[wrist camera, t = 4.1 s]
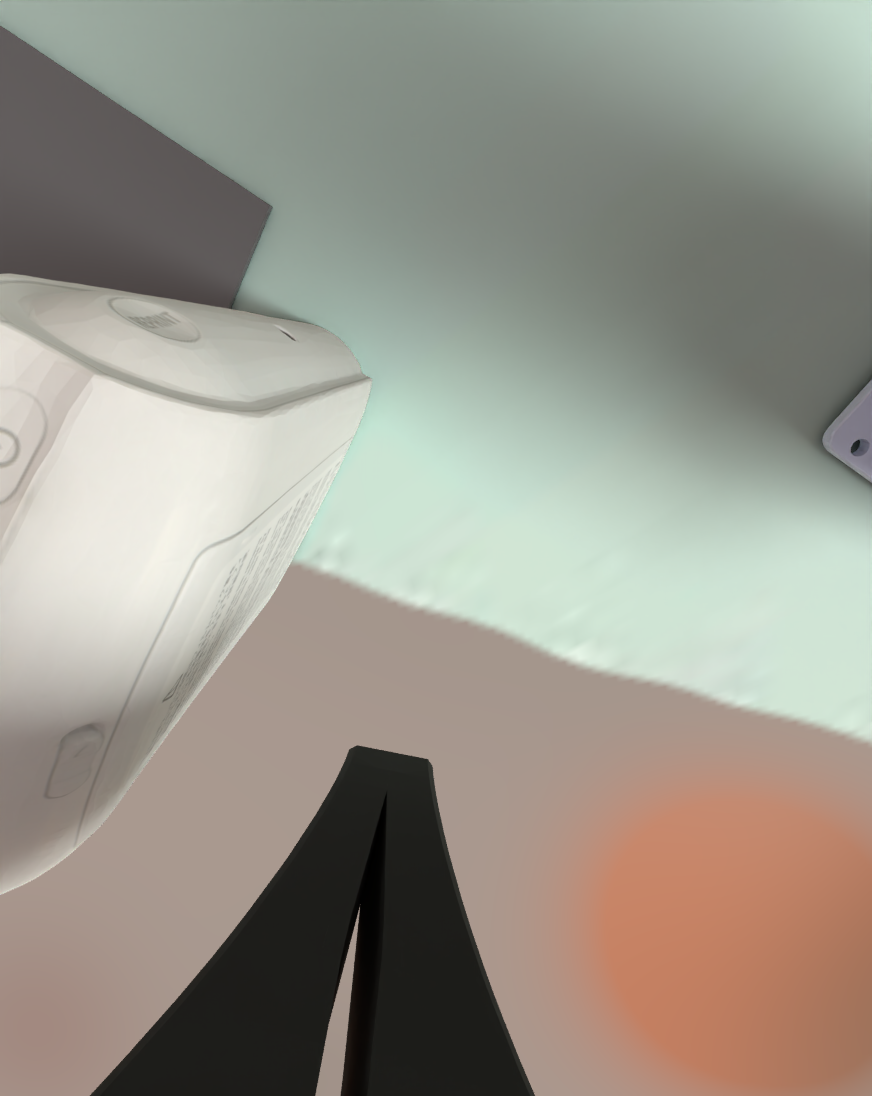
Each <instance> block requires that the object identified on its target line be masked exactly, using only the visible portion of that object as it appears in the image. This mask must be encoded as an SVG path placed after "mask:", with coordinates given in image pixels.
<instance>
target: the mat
mask: <svg viewBox="0 0 872 1096" xmlns="http://www.w3.org/2000/svg"><path fill="white" fill-rule="evenodd" d="M271 209H272V206H270V205H269V204H267V203H266V202H264V201H263V200H261V199H260V198H258V197H257V196H255V195H254V194H252V193H251V192H249V191H248V190H246V189H245V188H243V187H242V186H240V185H239V184H237V183H236V182H234V181H233V180H231V179H230V178H228V177H227V176H225V175H224V174H222V173H221V172H219V171H218V170H216V169H215V168H213V167H212V166H210V165H209V164H207V163H206V162H204V161H203V160H201V159H200V158H198V157H197V156H195V155H194V154H192V153H191V152H189V151H188V150H186V149H185V148H183V147H182V146H180V145H179V144H177V143H176V142H174V141H173V140H171V139H170V138H168V137H167V136H165V135H164V134H162V133H161V132H159V131H158V130H156V129H155V128H153V127H152V126H150V125H149V124H147V123H146V122H144V121H143V120H141V119H140V118H138V117H137V116H135V115H134V114H132V113H131V112H129V111H128V110H126V109H125V108H123V107H122V106H120V105H119V104H117V103H116V102H114V101H113V100H111V99H110V98H108V97H107V96H105V95H104V94H102V93H101V92H99V91H98V90H96V89H95V88H93V87H92V86H90V85H89V84H87V83H86V82H84V81H83V80H81V79H80V78H78V77H77V76H75V75H74V74H72V73H71V72H69V71H68V70H66V69H65V68H63V67H62V66H60V65H59V64H57V63H56V62H54V61H53V60H51V59H50V58H48V57H47V56H45V55H44V54H42V53H41V52H39V51H38V50H36V49H35V48H33V47H32V46H30V45H29V44H27V43H26V42H24V41H23V40H21V39H20V38H18V37H17V36H15V35H14V34H12V33H11V32H9V31H8V30H6V29H5V28H3V27H2V26H0V274H7V273H10V274H18V275H26V276H32V277H37V278H43V279H48V280H55V281H62V282H69V283H77V284H83V285H88V286H94V287H101V288H108V289H114V290H120V291H125V292H131V293H136V294H142V295H149V296H155V297H162V298H169V299H175V300H180V301H185V302H192V303H197V304H204V305H210V306H215V307H222V308H228V309H231V307H232V304H233V302H234V299H235V297H236V294H237V292H238V290H239V287H240V285H241V282H242V280H243V277H244V275H245V272H246V270H247V268H248V265H249V263H250V260H251V258H252V255H253V253H254V251H255V248H256V246H257V243H258V241H259V238H260V236H261V233H262V231H263V229H264V226H265V224H266V221H267V219H268V216H269V214H270V212H271Z"/></svg>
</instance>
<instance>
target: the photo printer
mask: <svg viewBox="0 0 872 1096" xmlns="http://www.w3.org/2000/svg"><path fill="white" fill-rule="evenodd" d="M371 386H372V379H371V378H370V377H368V376H366V375H364V374H363V373H362V370H361V367H360V365H359V363H358V361H357V359H356V357H355V356H354V354H353V353H352V351H351V350H350V349H349V348H348V347H347V345H346V344H345V343H344V342H343V341H341V340H340V339H339V338H338V337H337V336H335V335H334V334H332V333H331V332H329V331H328V330H326V329H324V328H321V327H319V326H316V325H313V324H308V323H303V322H297V321H292V320H285V319H279V318H274V317H268V316H264V315H260V314H255V313H251V312H246V311H239V310H234V309H228V308H222V307H215V306H210V305H204V304H197V303H192V302H185V301H180V300H175V299H169V298H162V297H155V296H149V295H142V294H136V293H131V292H125V291H120V290H114V289H108V288H101V287H94V286H88V285H83V284H77V283H69V282H62V281H55V280H48V279H43V278H37V277H32V276H26V275H18V274H10V273H7V274H0V895H1V894H3V893H6V892H8V891H10V890H13V889H15V888H17V887H20V886H22V885H24V884H26V883H28V882H30V881H32V880H34V879H35V878H37V877H38V876H40V875H42V874H43V873H45V872H46V871H48V870H49V869H51V868H53V867H54V866H55V865H57V864H58V863H59V862H61V861H62V860H63V859H65V858H66V857H67V856H69V855H70V854H71V853H72V852H73V851H74V850H75V849H77V848H78V847H79V846H80V845H81V844H82V843H83V842H84V841H85V840H86V839H88V838H89V837H90V836H91V835H92V834H93V833H94V832H95V831H96V830H97V829H98V828H99V827H100V826H101V825H102V824H103V823H104V822H105V820H106V819H107V818H108V816H109V815H110V814H111V812H112V811H113V810H114V808H115V807H116V806H117V804H118V803H119V802H120V800H121V799H122V798H123V796H124V795H125V793H126V792H127V791H128V789H129V788H130V787H131V785H132V784H133V782H134V781H135V780H136V778H137V777H138V776H139V774H140V773H141V771H142V770H143V769H144V767H145V766H146V764H147V763H148V762H149V760H150V759H151V758H152V756H153V755H154V753H155V752H156V751H157V749H158V748H159V746H160V745H161V744H162V742H163V741H164V740H165V738H166V737H167V735H168V734H169V733H170V731H171V730H172V729H173V727H174V726H175V725H176V723H177V722H178V721H179V719H180V718H181V717H182V715H183V714H184V712H185V711H186V710H187V709H188V707H189V706H190V705H191V703H192V702H193V700H194V699H195V698H196V696H197V695H198V694H199V692H200V691H201V690H202V688H203V687H204V686H205V684H206V683H207V682H208V680H209V679H210V678H211V676H212V675H213V674H214V672H215V671H216V669H217V668H218V667H219V666H220V664H221V663H222V662H223V660H224V659H225V657H226V656H227V655H228V653H229V652H230V651H231V650H232V648H233V647H234V646H235V644H236V643H237V642H238V640H239V639H240V638H241V637H242V635H243V634H244V633H245V631H246V630H247V629H248V627H249V626H250V625H251V623H252V622H253V621H254V619H255V618H256V617H257V615H258V614H259V612H260V611H261V610H262V609H263V607H264V606H265V605H266V603H267V602H268V601H269V599H270V598H271V596H272V594H273V593H274V592H275V589H276V588H277V586H278V584H279V583H280V581H281V579H282V577H283V575H284V574H285V572H286V570H287V568H288V566H289V565H290V563H291V561H292V559H293V557H294V555H295V554H296V552H297V550H298V548H299V546H300V544H301V542H302V540H303V539H304V537H305V535H306V533H307V531H308V529H309V527H310V525H311V523H312V521H313V519H314V517H315V515H316V513H317V512H318V510H319V508H320V506H321V504H322V502H323V500H324V498H325V496H326V494H327V492H328V490H329V488H330V486H331V484H332V482H333V480H334V478H335V476H336V474H337V472H338V470H339V467H340V465H341V463H342V461H343V459H344V457H345V455H346V453H347V450H348V448H349V446H350V444H351V442H352V439H353V437H354V435H355V433H356V431H357V429H358V427H359V424H360V422H361V419H362V417H363V414H364V411H365V408H366V405H367V402H368V398H369V394H370V390H371Z"/></svg>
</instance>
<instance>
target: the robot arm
mask: <svg viewBox="0 0 872 1096" xmlns="http://www.w3.org/2000/svg"><path fill="white" fill-rule="evenodd" d="M857 440H860V446H859V448H858V449H857V450H856V451H855V452H853V453H851V446H852V445H853V443H854V442H856V441H857ZM822 441H823V446H824V448H825V449H826V450H827V451H828V452H830V453H831V454H832V455H834V456H835V457H837V458H838V459H839V460H841V461H842V462H843V463H845V464H846V465H848V466H849V467H850V468H852V469H853V470H855V471H856V472H857V473H859V474H860V475H862V476H863V477H864V478H866V479H867V480H869V481H870V482H871V483H872V379H871V380H870V382H869V383H868V384H867V385H866V386H865V387H864V388H863V389H862V390H861V392H860V393H859V394H858V395H857V396H856V397H855V398H854V399H853V400H852V402H851V403H850V404H849V405H848V406H847V407H846V408H845V409H844V410H843V412H842V413H841V414H840V415H839V416H838V417H837V418H836V419H835V420H834V422H833V423H832V424H831V425H830V426H829V427H828V428H827V430H826V431H825V433H824V435H823V440H822ZM359 907H360V913H359V923H358V933H357V943H356V953H355V962H354V973H353V983H352V992H351V1002H350V1013H349V1022H348V1032H347V1043H346V1052H345V1062H344V1072H343V1081H342V1089H341V1096H535V1095H534V1092H533V1090H532V1088H531V1085H530V1083H529V1081H528V1078H527V1076H526V1074H525V1071H524V1069H523V1067H522V1064H521V1062H520V1059H519V1057H518V1054H517V1052H516V1049H515V1047H514V1044H513V1042H512V1040H511V1037H510V1034H509V1032H508V1029H507V1027H506V1024H505V1022H504V1020H503V1017H502V1014H501V1012H500V1009H499V1007H498V1004H497V1001H496V999H495V996H494V993H493V991H492V988H491V985H490V982H489V980H488V977H487V974H486V971H485V969H484V966H483V963H482V960H481V957H480V954H479V951H478V948H477V945H476V942H475V939H474V936H473V933H472V930H471V927H470V924H469V921H468V918H467V914H466V911H465V908H464V905H463V902H462V899H461V895H460V892H459V888H458V884H457V880H456V877H455V873H454V870H453V866H452V863H451V859H450V856H449V852H448V848H447V844H446V840H445V835H444V832H443V826H442V822H441V817H440V813H439V808H438V803H437V797H436V791H435V785H434V778H433V767H432V765H431V763H430V762H429V760H428V759H424V758H419V757H413V756H408V755H403V754H398V753H393V752H388V751H383V750H378V749H372V748H368V747H362V746H355V747H353V748H351V749H350V750H349V752H348V754H347V757H346V760H345V762H344V764H343V766H342V768H341V771H340V773H339V775H338V777H337V779H336V781H335V783H334V784H333V786H332V788H331V790H330V792H329V793H328V795H327V797H326V798H325V800H324V802H323V803H322V805H321V807H320V809H319V811H318V812H317V814H316V815H315V817H314V818H313V820H312V821H311V823H310V824H309V826H308V827H307V829H306V831H305V832H304V833H303V835H302V837H301V838H300V840H299V841H298V843H297V844H296V846H295V847H294V849H293V850H292V852H291V853H290V855H289V856H288V858H287V859H286V861H285V862H284V864H283V865H282V866H281V868H280V869H279V870H278V872H277V873H276V874H275V876H274V877H273V878H272V880H271V881H270V883H269V884H268V885H267V887H266V888H265V889H264V891H263V892H262V894H261V895H260V896H259V898H258V899H257V900H256V902H255V903H254V904H253V906H252V907H251V908H250V910H249V911H248V912H247V914H246V915H245V916H244V918H243V919H242V920H241V921H240V923H239V924H238V925H237V927H236V928H235V929H234V931H233V932H232V933H231V934H230V936H229V937H228V938H227V939H226V941H225V942H224V943H223V944H222V945H221V947H220V948H219V949H218V950H217V952H216V953H215V954H214V955H213V957H212V958H211V959H210V960H209V961H208V963H207V964H206V965H205V966H204V967H203V969H202V970H201V971H200V972H199V973H198V975H197V976H196V977H195V978H194V979H193V981H192V982H191V983H190V984H189V985H188V987H187V988H186V989H185V990H184V991H183V992H182V994H181V995H180V996H179V997H178V998H177V999H176V1001H175V1002H174V1003H173V1004H172V1005H171V1006H170V1007H169V1008H168V1010H167V1011H166V1012H165V1013H164V1014H163V1015H162V1017H161V1018H160V1019H159V1020H158V1021H157V1022H156V1023H155V1024H154V1025H153V1027H152V1028H151V1029H150V1030H149V1031H148V1032H147V1033H146V1034H145V1036H144V1037H143V1038H142V1039H141V1040H140V1041H139V1042H138V1043H137V1045H136V1046H135V1047H134V1048H133V1049H132V1050H131V1051H130V1053H129V1054H128V1055H127V1056H126V1057H125V1058H124V1059H123V1060H122V1061H121V1062H120V1064H119V1065H118V1066H117V1067H116V1068H115V1069H114V1070H113V1071H112V1072H111V1073H110V1075H109V1076H108V1077H107V1078H106V1079H105V1080H104V1081H103V1082H102V1083H101V1084H100V1085H99V1087H97V1089H96V1090H95V1091H94V1092H93V1093H92V1094H91V1095H90V1096H315V1093H316V1088H317V1083H318V1078H319V1072H320V1067H321V1062H322V1056H323V1051H324V1046H325V1040H326V1035H327V1030H328V1024H329V1021H330V1017H331V1013H332V1009H333V1006H334V1002H335V998H336V994H337V990H338V987H339V983H340V979H341V975H342V972H343V968H344V964H345V960H346V956H347V953H348V949H349V945H350V941H351V938H352V934H353V930H354V926H355V922H356V919H357V915H358V910H359Z"/></svg>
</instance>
